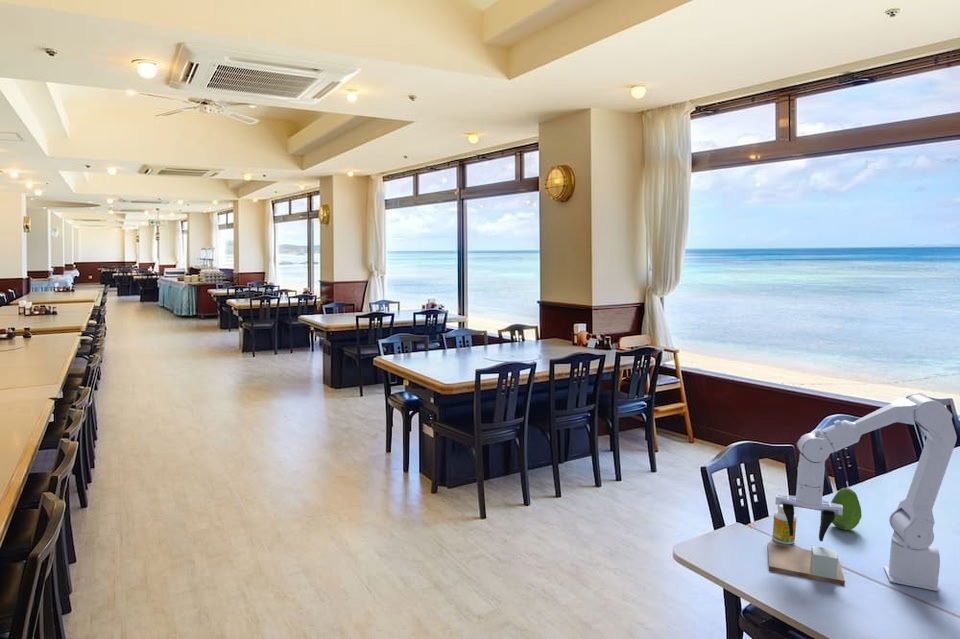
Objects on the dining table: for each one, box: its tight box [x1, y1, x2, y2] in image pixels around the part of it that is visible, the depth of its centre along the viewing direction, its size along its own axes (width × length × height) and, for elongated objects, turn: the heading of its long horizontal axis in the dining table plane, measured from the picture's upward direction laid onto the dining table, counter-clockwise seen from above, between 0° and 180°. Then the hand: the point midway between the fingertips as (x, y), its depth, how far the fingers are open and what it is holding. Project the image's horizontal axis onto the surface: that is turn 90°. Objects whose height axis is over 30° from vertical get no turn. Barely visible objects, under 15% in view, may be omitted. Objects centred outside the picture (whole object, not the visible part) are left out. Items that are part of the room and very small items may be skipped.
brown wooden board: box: [767, 542, 846, 586], centre depth 155 cm, size 16×14×1 cm
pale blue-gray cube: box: [810, 545, 839, 579], centre depth 149 cm, size 5×5×5 cm
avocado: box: [830, 487, 862, 531], centre depth 177 cm, size 8×8×12 cm
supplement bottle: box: [772, 504, 797, 545], centre depth 168 cm, size 5×5×10 cm
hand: (805, 536), depth 155 cm, fingers open, 6 cm apart
